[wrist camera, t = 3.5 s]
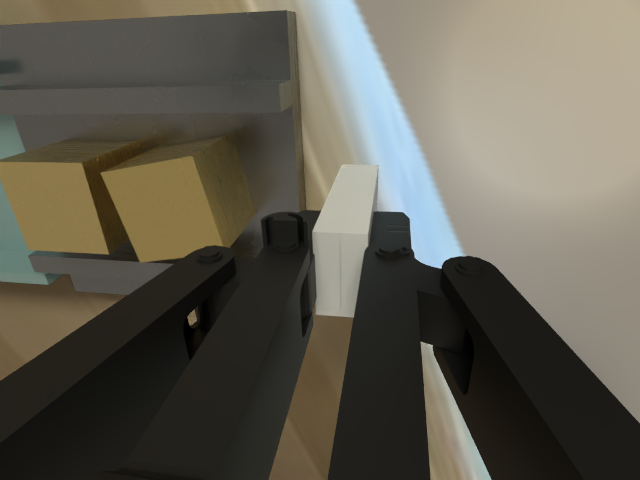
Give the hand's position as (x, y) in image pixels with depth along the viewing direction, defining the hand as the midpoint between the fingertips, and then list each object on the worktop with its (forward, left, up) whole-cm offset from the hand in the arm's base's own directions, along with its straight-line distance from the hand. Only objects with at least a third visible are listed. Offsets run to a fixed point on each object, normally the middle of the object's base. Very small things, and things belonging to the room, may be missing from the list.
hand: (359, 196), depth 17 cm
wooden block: (0, -13, -2) cm, 13 cm away
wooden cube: (0, -8, -2) cm, 8 cm away
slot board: (0, -10, -3) cm, 10 cm away
